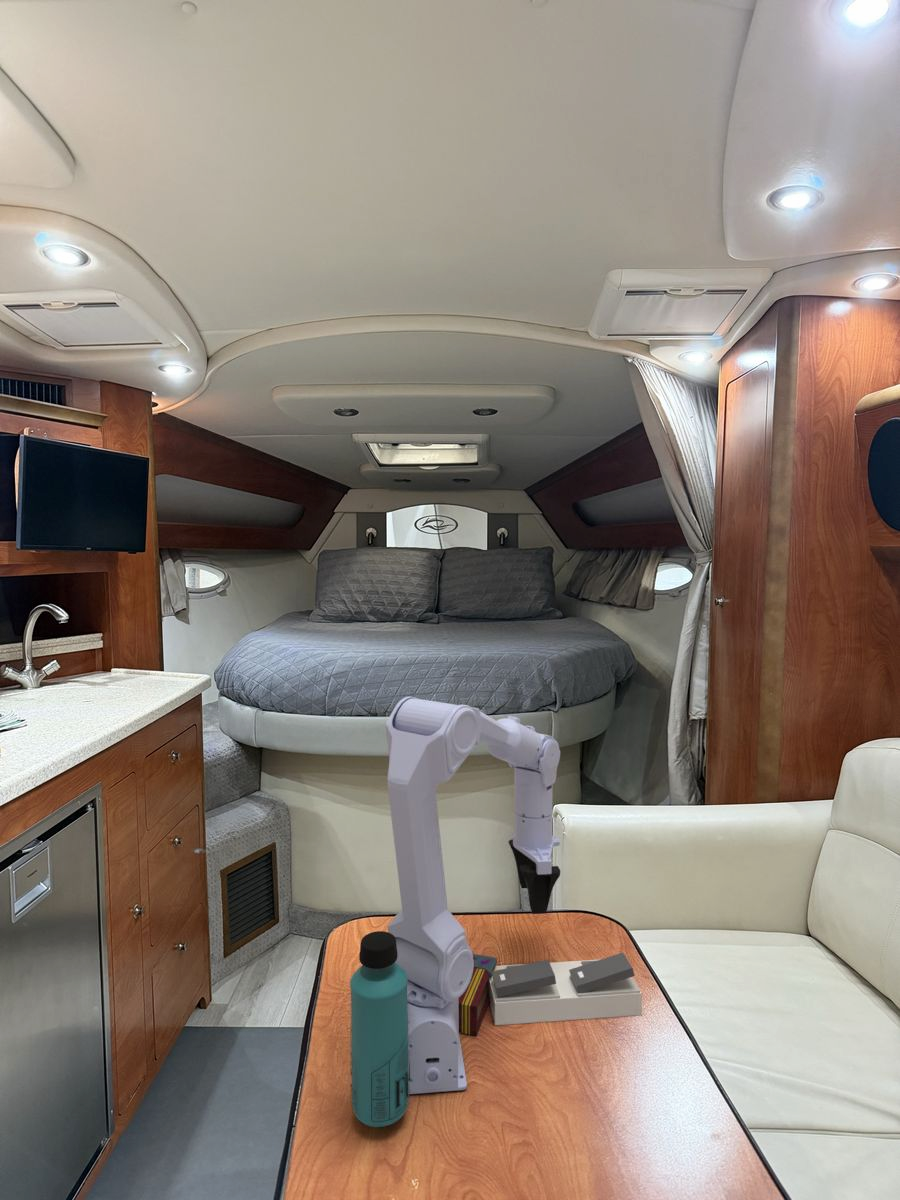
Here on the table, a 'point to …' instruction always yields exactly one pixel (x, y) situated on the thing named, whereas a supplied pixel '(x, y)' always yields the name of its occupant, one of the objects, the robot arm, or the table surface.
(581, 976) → the rocker outer
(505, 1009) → the base
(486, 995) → the decorative book
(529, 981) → the rocker inboard
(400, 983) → the beverage bottle
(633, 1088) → the table surface
